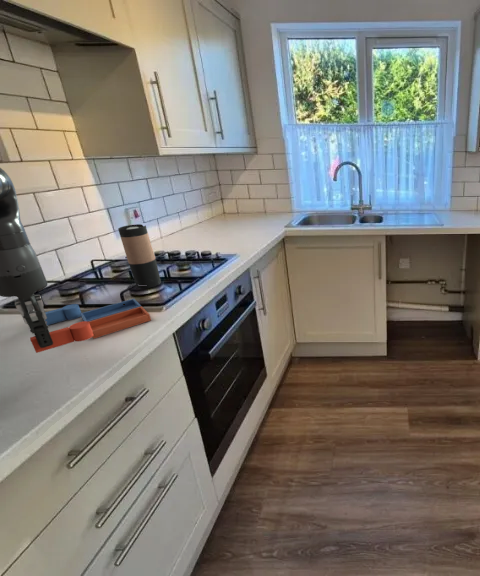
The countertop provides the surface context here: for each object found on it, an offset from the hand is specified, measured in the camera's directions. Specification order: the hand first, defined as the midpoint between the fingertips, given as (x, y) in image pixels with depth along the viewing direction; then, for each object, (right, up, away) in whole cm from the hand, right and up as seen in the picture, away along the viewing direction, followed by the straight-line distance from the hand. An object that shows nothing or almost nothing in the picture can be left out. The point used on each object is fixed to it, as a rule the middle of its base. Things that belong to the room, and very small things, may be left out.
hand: (46, 344), depth 78 cm
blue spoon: (-17, +3, +22) cm, 28 cm away
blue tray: (-4, +4, +24) cm, 25 cm away
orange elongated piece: (+2, 0, +2) cm, 3 cm away
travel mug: (-7, +13, +45) cm, 48 cm away
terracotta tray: (+2, +2, +19) cm, 19 cm away
